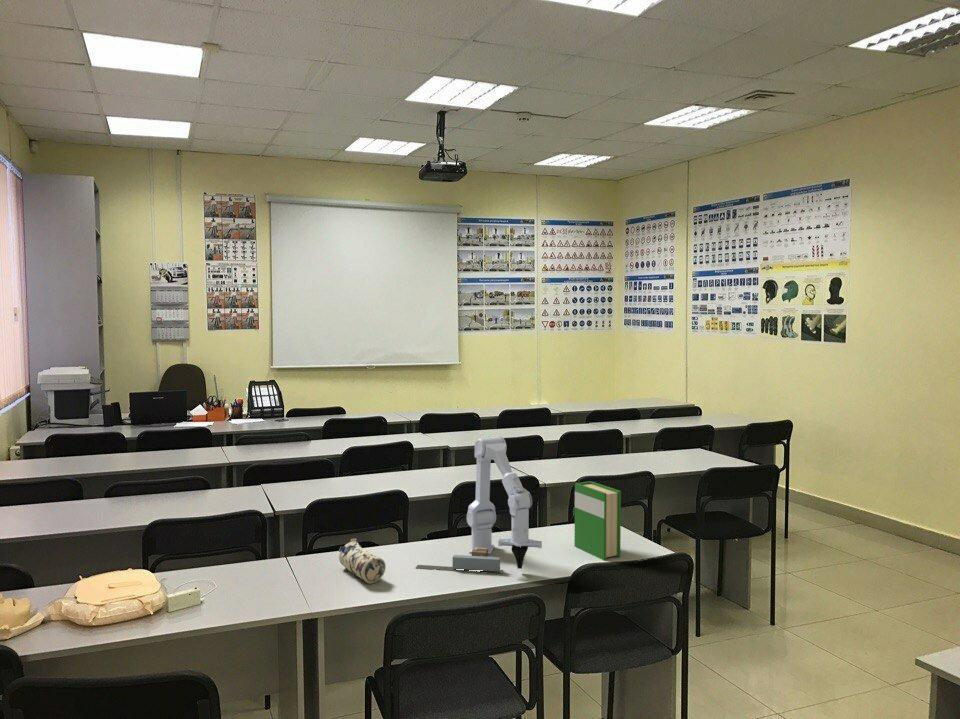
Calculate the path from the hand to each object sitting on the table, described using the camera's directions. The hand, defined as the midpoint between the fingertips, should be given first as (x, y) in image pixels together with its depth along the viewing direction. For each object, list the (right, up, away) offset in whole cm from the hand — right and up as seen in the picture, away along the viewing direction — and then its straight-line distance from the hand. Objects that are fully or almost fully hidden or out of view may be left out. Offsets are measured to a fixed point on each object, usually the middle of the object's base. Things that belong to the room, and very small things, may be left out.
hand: (520, 567), depth 242 cm
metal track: (-21, -2, +4) cm, 21 cm away
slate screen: (-15, -2, +3) cm, 15 cm away
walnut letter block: (-13, -2, +10) cm, 17 cm away
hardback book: (+29, -1, +22) cm, 37 cm away
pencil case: (-53, -3, -1) cm, 53 cm away
